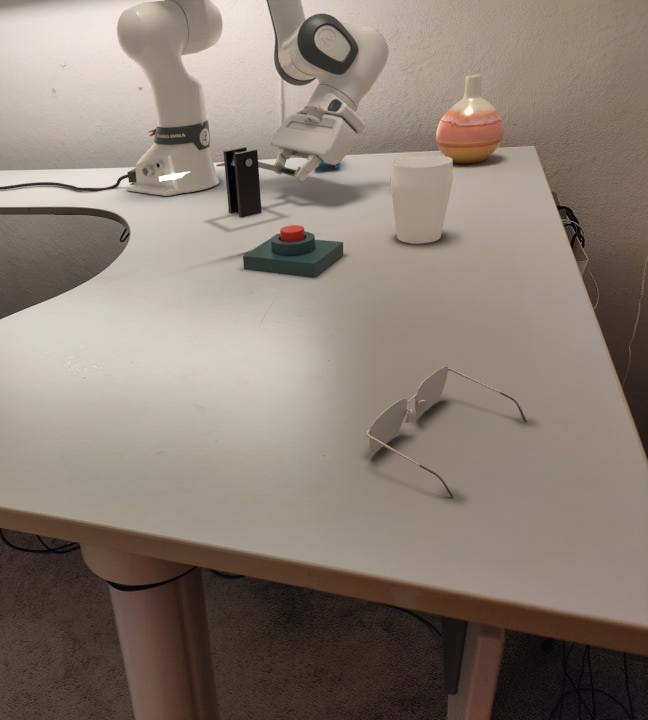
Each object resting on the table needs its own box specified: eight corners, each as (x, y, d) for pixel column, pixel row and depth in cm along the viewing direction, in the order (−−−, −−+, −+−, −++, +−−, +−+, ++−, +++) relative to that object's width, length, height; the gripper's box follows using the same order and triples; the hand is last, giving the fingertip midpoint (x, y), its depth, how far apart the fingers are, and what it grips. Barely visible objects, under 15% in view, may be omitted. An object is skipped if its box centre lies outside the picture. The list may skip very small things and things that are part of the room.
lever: (281, 176, 130) (284, 163, 130) (299, 181, 125) (303, 168, 124) (224, 163, 124) (227, 150, 124) (241, 167, 119) (244, 154, 118)
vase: (514, 157, 145) (523, 70, 137) (475, 170, 139) (482, 80, 131) (460, 152, 156) (465, 71, 148) (421, 164, 150) (425, 80, 142)
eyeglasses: (444, 393, 65) (450, 358, 63) (528, 426, 60) (537, 389, 58) (362, 462, 57) (365, 424, 55) (449, 506, 52) (457, 466, 50)
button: (276, 242, 101) (275, 231, 100) (287, 235, 103) (287, 224, 102) (297, 244, 99) (297, 233, 98) (308, 237, 101) (308, 226, 100)
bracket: (260, 208, 133) (256, 142, 127) (285, 216, 125) (281, 147, 119) (207, 221, 129) (200, 153, 123) (228, 231, 121) (222, 159, 115)
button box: (243, 269, 102) (241, 244, 101) (275, 248, 109) (273, 225, 108) (315, 278, 96) (314, 251, 94) (343, 255, 103) (343, 230, 101)
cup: (386, 246, 104) (388, 169, 98) (392, 229, 111) (393, 156, 106) (448, 246, 101) (453, 166, 95) (449, 228, 108) (454, 153, 103)
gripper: (287, 99, 133) (249, 158, 134) (351, 105, 116) (306, 173, 117) (307, 118, 136) (269, 176, 137) (371, 127, 119) (328, 193, 121)
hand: (287, 175), depth 127 cm, fingers closed on lever, 6 cm apart
